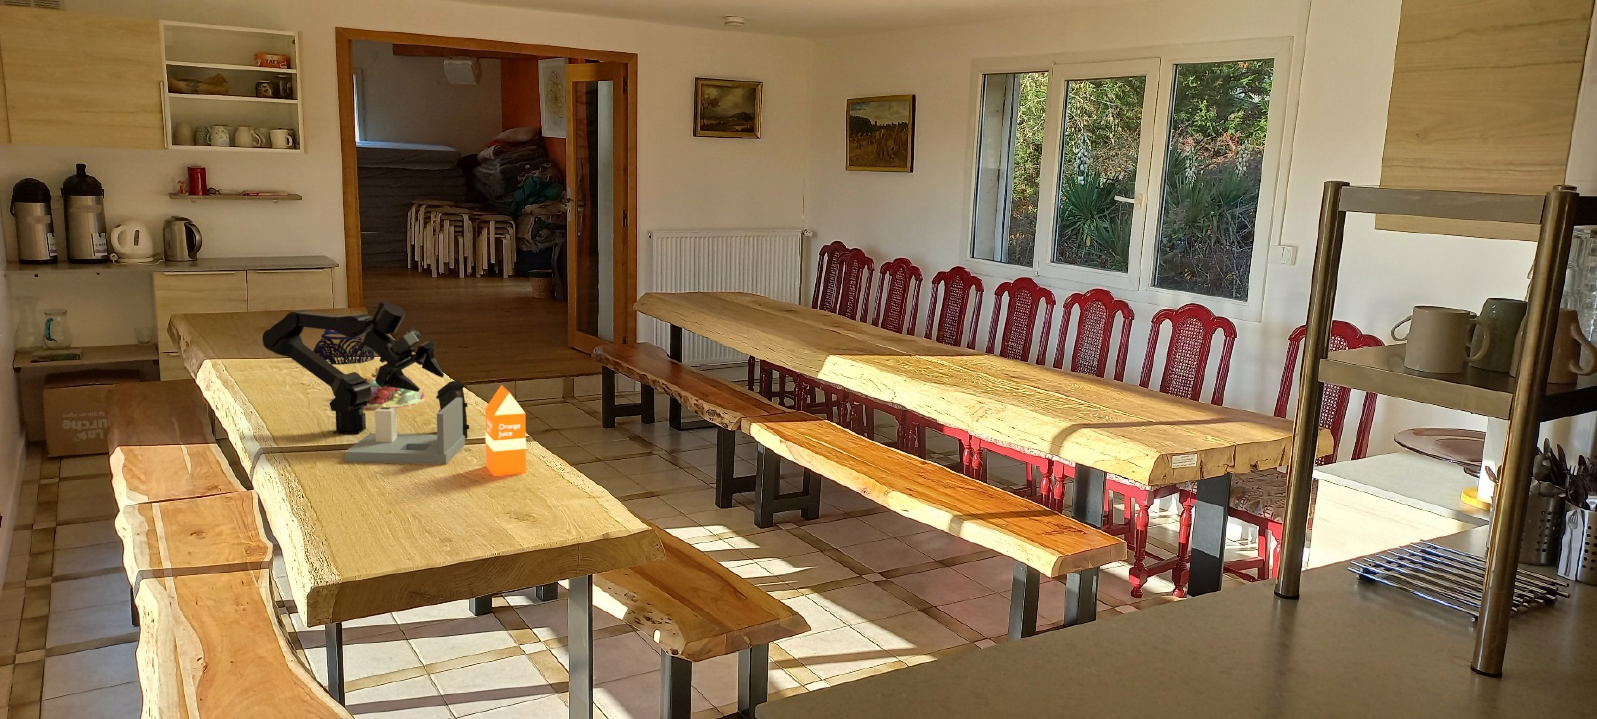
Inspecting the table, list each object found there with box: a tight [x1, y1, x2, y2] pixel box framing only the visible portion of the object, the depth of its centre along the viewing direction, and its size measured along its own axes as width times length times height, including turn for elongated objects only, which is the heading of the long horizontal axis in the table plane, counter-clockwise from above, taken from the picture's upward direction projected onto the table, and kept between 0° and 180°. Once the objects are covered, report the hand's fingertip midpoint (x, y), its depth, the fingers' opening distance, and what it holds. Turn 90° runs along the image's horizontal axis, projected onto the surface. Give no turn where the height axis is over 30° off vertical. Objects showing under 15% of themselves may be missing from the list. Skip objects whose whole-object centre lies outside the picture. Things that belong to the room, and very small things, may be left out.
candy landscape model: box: [358, 365, 427, 410], centre depth 333 cm, size 25×24×9 cm
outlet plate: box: [344, 398, 466, 465], centre depth 276 cm, size 24×18×12 cm
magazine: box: [435, 380, 470, 440], centre depth 296 cm, size 4×13×15 cm, turn 39°
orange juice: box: [484, 384, 527, 477], centre depth 265 cm, size 8×9×20 cm
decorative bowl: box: [312, 329, 375, 365], centre depth 390 cm, size 20×20×14 cm
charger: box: [374, 407, 398, 442], centre depth 279 cm, size 4×4×8 cm
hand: (431, 383), depth 287 cm, fingers open, 9 cm apart
